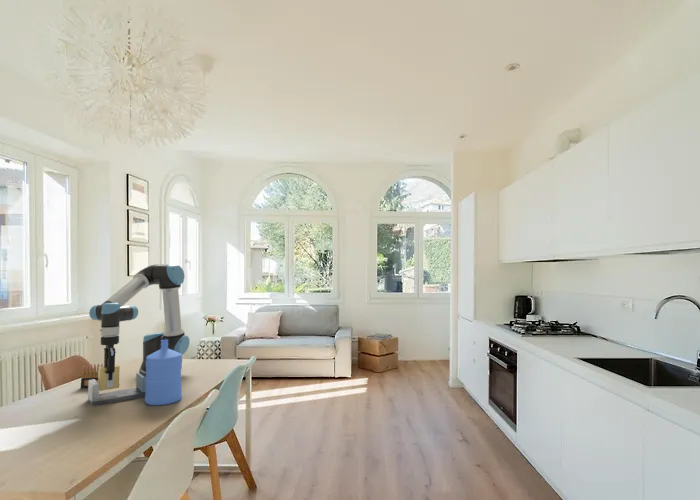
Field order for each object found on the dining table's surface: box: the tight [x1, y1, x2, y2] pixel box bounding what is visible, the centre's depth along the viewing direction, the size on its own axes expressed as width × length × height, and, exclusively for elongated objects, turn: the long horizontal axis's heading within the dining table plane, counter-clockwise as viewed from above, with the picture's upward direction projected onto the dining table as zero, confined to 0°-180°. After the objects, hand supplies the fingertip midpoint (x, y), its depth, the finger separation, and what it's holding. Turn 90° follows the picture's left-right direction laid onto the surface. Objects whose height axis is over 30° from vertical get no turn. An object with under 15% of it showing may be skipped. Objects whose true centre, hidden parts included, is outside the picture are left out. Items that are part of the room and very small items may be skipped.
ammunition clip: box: [80, 363, 104, 389], centre depth 217 cm, size 11×2×12 cm, turn 98°
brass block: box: [98, 364, 120, 392], centre depth 195 cm, size 8×4×10 cm, turn 130°
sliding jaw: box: [135, 369, 146, 392], centre depth 205 cm, size 4×12×8 cm, turn 40°
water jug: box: [144, 340, 183, 406], centre depth 194 cm, size 16×16×28 cm
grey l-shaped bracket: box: [87, 379, 145, 407], centre depth 199 cm, size 26×12×9 cm, turn 129°
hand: (108, 385), depth 195 cm, fingers closed on brass block, 4 cm apart
